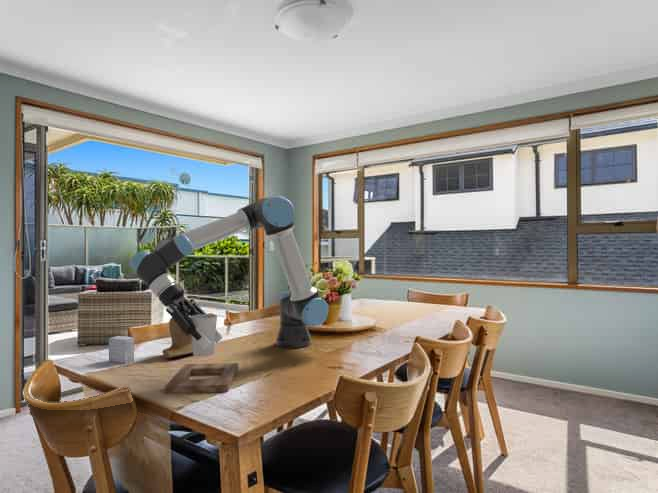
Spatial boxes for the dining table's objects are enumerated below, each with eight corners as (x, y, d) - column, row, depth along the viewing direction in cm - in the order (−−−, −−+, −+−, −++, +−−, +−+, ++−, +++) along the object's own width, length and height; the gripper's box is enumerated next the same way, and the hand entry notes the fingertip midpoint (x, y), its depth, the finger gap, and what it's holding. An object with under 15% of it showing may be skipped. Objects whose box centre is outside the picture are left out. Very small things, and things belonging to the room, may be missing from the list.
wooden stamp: (189, 348, 170) (189, 312, 169) (206, 353, 162) (206, 315, 162) (154, 355, 158) (154, 317, 158) (170, 361, 150) (170, 320, 150)
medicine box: (134, 360, 151) (134, 337, 151) (125, 364, 147) (125, 339, 147) (118, 358, 154) (118, 335, 154) (108, 361, 150) (108, 338, 149)
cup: (193, 350, 134) (194, 314, 134) (218, 350, 134) (219, 313, 134) (187, 357, 126) (188, 318, 126) (214, 357, 126) (214, 318, 126)
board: (238, 368, 142) (238, 362, 142) (228, 391, 120) (228, 384, 120) (185, 369, 141) (185, 363, 141) (165, 393, 119) (165, 386, 119)
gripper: (177, 294, 143) (220, 343, 140) (140, 302, 123) (189, 359, 120) (191, 280, 142) (234, 328, 139) (156, 285, 122) (206, 342, 119)
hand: (213, 343), depth 129 cm, fingers closed on cup, 7 cm apart
